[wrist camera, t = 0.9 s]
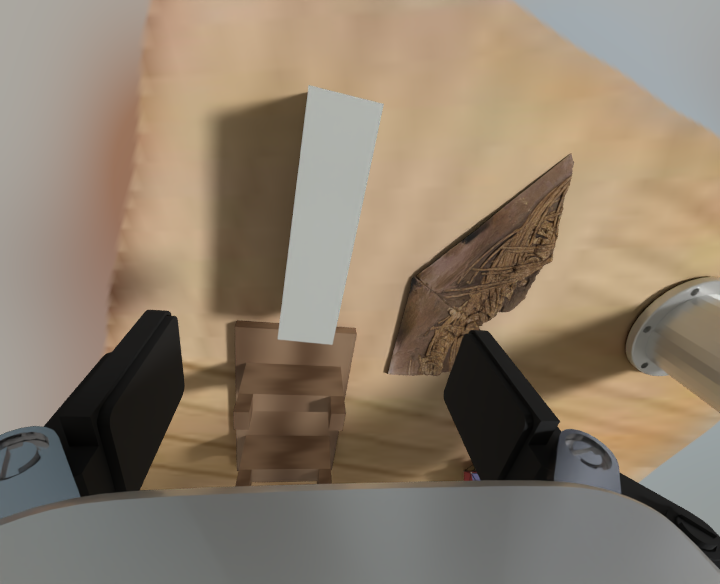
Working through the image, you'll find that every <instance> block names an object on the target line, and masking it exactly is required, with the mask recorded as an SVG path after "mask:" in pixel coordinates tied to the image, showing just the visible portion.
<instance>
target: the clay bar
mask: <svg viewBox="0 0 720 584" xmlns="http://www.w3.org/2000/svg"><path fill="white" fill-rule="evenodd" d="M383 105H384V104H381V103H377V102H374V101H370V100H366V99H362V98H358V97H354V96H350V95H346V94H342V93H338V92H334V91H330V90H326V89H322V88H318V87H314V86H310V85H309V87H308V96H307V104H306V112H305V120H304V128H303V136H302V144H301V152H300V161H299V169H298V177H297V185H296V193H295V201H294V209H293V218H292V226H291V234H290V242H289V250H288V258H287V266H286V274H285V283H284V291H283V299H282V307H281V315H280V323H279V331H278V339H279V340H289V341H299V342H309V343H320V344H330V345H332V344H333V340H334V335H335V330H336V326H337V321H338V316H339V312H340V307H341V302H342V297H343V293H344V288H345V283H346V279H347V274H348V269H349V265H350V260H351V255H352V251H353V246H354V241H355V236H356V232H357V227H358V222H359V218H360V213H361V208H362V204H363V199H364V194H365V189H366V185H367V180H368V175H369V171H370V166H371V161H372V157H373V152H374V147H375V142H376V138H377V133H378V128H379V124H380V119H381V114H382V110H383Z"/></svg>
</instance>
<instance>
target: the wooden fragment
mask: <svg viewBox="0 0 720 584" xmlns="http://www.w3.org/2000/svg"><path fill="white" fill-rule="evenodd" d="M573 165H574V161H573V159H572V155H571V153H570V155H568V156H567V157H566V158H565V159H563V160H562V161H561V162H559V163H558V164H557V165H556V166H554V167H553V168H552V169H551V170H550V171H549V172H547V173H546V174H545V175H543V176H542V177H541V178H540V179H538V180H537V181H536V182H535V183H533V184H532V185H531V186H530V187H529V188H527V189H526V190H525V191H523V192H522V193H521V194H520V195H518V196H517V197H516V198H514V199H513V200H512V201H511V202H509V203H508V204H507V205H506V206H505V207H503V208H502V209H501V210H500V211H498V212H497V213H496V214H494V215H493V216H492V217H491V218H490V219H489V220H488V221H486V222H485V223H484V224H483V225H481V226H480V227H479V228H478V229H477V230H476V231H474V232H473V233H471V234H470V235H468V236H467V238H466V239H464V240H462V241H461V242H460V243H458V244H457V245H456V246H454V247H453V248H452V249H450V250H449V251H448V252H447V253H445V254H444V255H443V256H442V257H441V258H439V259H438V260H436V262H434V264H432V265H430V266H429V267H427V268H426V269H425V270H423V271H422V272H421V273H419V274H418V275H416V276H417V277H419V278H420V280H421V281H419V280H418V279H417V278H416V276H414V277H413V278H412V281H411V288H410V289H411V290H410V293H409V296H408V300H407V304H406V307H405V311H404V315H403V318H402V322H401V326H400V330H399V333H398V337H397V341H396V344H395V347H394V350H393V352H394V353H393V355H392V359H391V363H390V368H389V372H388V373H387V374H393V375H412V376H414V375H423V374H425V375H433V376H437V375H440V374H441V373H442V372H449V371H451V370H452V366H453V364H454V361H455V358H456V355H457V353H458V350H459V347H460V344H461V341H462V338H463V336H464V335H465V334H468V332H469V331H470V330H480V329H479V326H482V324H483V323H484V322H487V321H489V320H491V319H492V318H494V317H495V316H496V315H497V312H509V311H511V310H512V309H513V308H515V307H516V306H517V305H518V304H519V303H520V302H521V301H522V300H524V299H525V297H526V294H527V292H528V290H529V289H530V287H531V285H532V283H533V282H534V281H535V277H536V275H538V274H539V272H540V270H541V269H542V267H543V266H544V265H545V264H548V263H550V262H552V260H553V250H554V247H555V242H556V240H557V237H558V226H559V222H560V219H561V214H562V211H563V201H564V197H565V194H566V193H567V191H568V188H569V185H570V181H571V178H572V168H573Z"/></svg>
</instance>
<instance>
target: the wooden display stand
mask: <svg viewBox="0 0 720 584" xmlns="http://www.w3.org/2000/svg"><path fill="white" fill-rule="evenodd" d="M278 331H279V323H266V322H250V321H237V323H236V325H235V365H236V404H235V408H234V412H233V416H234V430H236V439H237V471H239V472H238V477H237V482H236V486H251V483H252V482H297V481H317V484H331V470H332V466H333V460H334V455H335V450H336V444H337V439H338V433H339V431H343V426H344V420H345V415H346V412H345V403H344V400H345V395H346V389H347V384H348V378H349V373H350V368H351V362H352V357H353V351H354V346H355V340H356V335H357V334H356V328H344V327H336V330H335V335H334V340H333V344H332V345H330V344H320V343H309V342H299V341H289V340H279V339H278Z"/></svg>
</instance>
